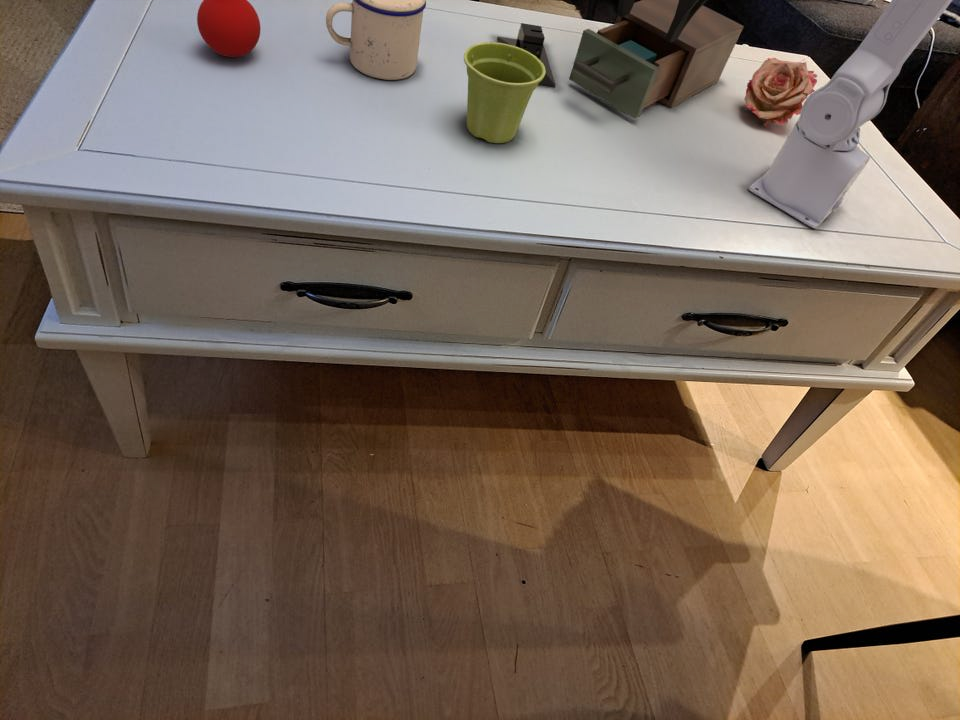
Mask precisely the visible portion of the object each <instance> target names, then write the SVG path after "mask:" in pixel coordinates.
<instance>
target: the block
mask: <svg viewBox="0 0 960 720" xmlns="http://www.w3.org/2000/svg"><path fill="white" fill-rule="evenodd" d="M619 46H621V47H622V48H624V49H626V50H628V51H630V52H631V53H633V54H635V55H637V56H639V57H640V58H642V59H644V60H646V61H648V62H649V63H651V64H653V63H654V61H655V58H656V56H657V54H655V53H653V52H652V51H650V50H648V49H646V48H644V47H642V46H641V45H639V44H637V43H635V42H633V41H631V40H630V41H627V42H625V43H622V44H620V45H619Z"/></svg>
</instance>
